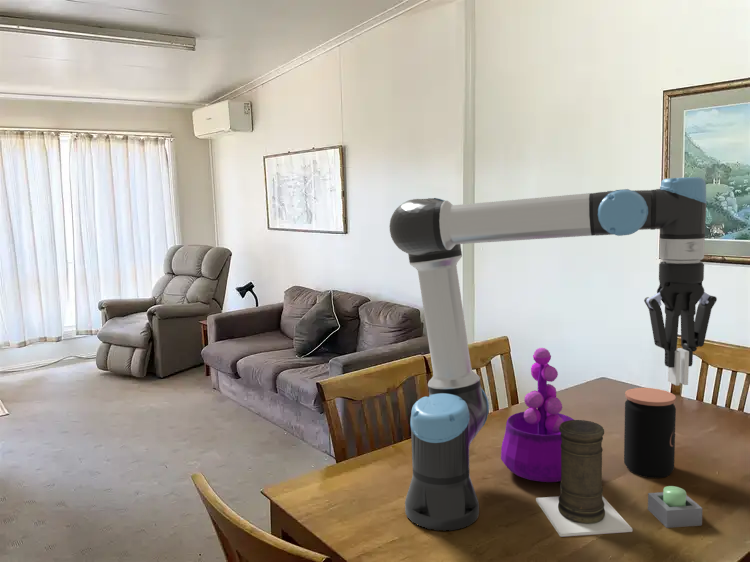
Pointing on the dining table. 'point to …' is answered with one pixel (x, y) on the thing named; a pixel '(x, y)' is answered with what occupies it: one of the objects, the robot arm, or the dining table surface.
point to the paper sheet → (570, 528)
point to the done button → (674, 496)
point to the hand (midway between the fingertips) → (677, 382)
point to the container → (581, 472)
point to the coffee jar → (649, 432)
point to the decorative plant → (536, 428)
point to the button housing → (675, 512)
